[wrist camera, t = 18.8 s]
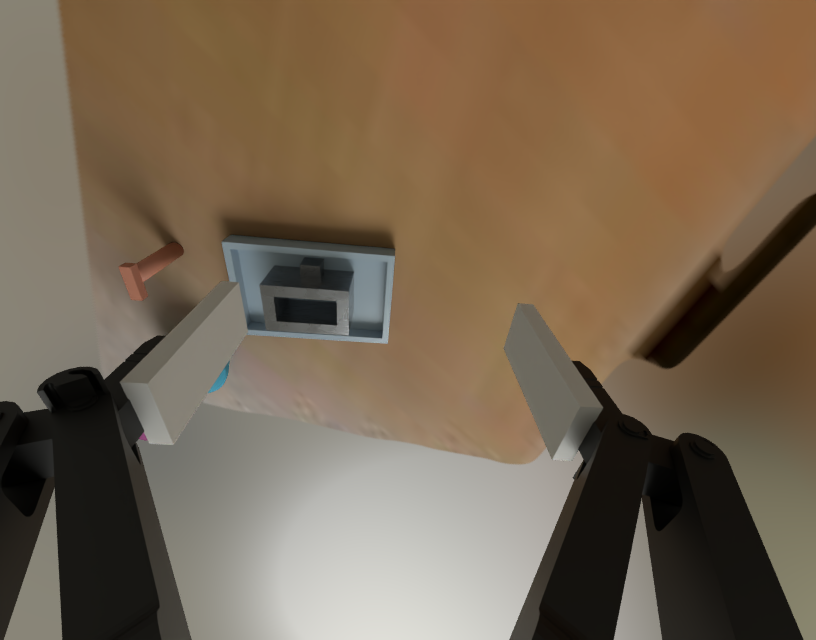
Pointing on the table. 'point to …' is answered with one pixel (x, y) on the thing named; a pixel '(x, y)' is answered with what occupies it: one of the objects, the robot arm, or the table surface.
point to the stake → (148, 269)
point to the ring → (308, 285)
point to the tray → (369, 265)
